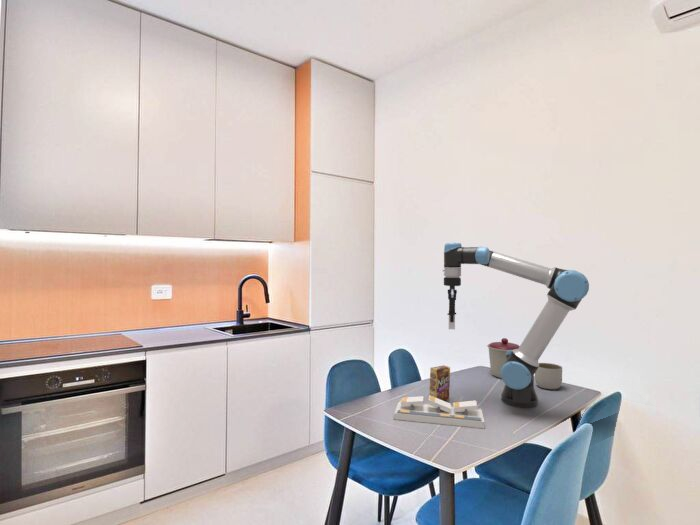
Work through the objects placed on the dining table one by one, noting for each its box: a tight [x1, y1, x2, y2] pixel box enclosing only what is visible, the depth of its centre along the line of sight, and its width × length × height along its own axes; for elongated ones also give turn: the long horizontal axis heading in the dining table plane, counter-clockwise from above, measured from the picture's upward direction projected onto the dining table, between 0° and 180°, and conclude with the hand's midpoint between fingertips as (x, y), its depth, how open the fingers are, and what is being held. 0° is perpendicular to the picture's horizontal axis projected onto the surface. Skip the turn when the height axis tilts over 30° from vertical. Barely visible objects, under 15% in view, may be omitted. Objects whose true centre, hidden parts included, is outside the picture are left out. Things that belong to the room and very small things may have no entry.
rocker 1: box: [400, 395, 425, 407], centre depth 169 cm, size 9×7×2 cm
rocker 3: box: [453, 400, 479, 412], centre depth 164 cm, size 9×7×2 cm
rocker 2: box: [427, 395, 452, 413], centre depth 166 cm, size 9×7×2 cm
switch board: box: [393, 401, 485, 429], centre depth 166 cm, size 34×14×4 cm, turn 77°
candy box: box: [428, 365, 451, 402], centre depth 185 cm, size 9×4×15 cm, turn 123°
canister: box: [486, 337, 520, 379], centre depth 226 cm, size 18×18×21 cm
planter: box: [534, 362, 563, 391], centre depth 207 cm, size 12×12×11 cm
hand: (451, 329), depth 186 cm, fingers closed
